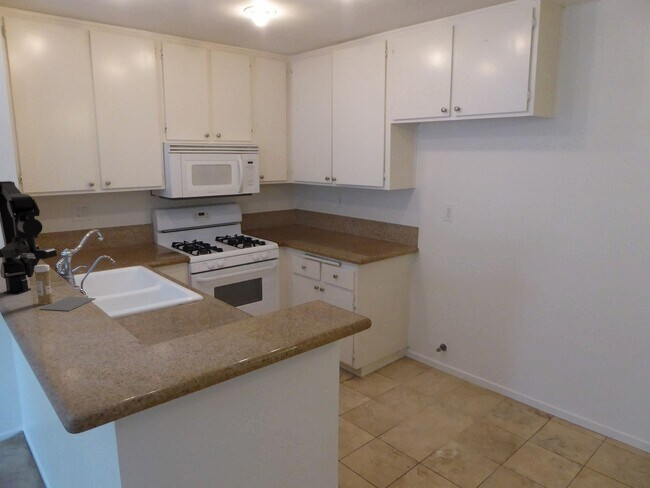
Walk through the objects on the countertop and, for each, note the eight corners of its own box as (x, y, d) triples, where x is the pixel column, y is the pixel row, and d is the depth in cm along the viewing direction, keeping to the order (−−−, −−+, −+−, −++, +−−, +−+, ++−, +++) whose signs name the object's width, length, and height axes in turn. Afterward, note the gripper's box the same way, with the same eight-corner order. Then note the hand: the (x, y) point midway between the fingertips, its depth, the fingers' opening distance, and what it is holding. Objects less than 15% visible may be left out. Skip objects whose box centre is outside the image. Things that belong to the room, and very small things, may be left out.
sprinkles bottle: (54, 303, 163) (50, 265, 161) (39, 305, 160) (35, 267, 157) (51, 300, 166) (47, 263, 164) (36, 302, 163) (32, 265, 161)
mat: (39, 309, 156) (39, 308, 156) (68, 297, 169) (68, 296, 169) (69, 311, 154) (69, 310, 154) (95, 299, 168) (95, 298, 168)
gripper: (-20, 235, 153) (-14, 281, 156) (30, 237, 150) (35, 284, 153) (8, 231, 164) (13, 274, 167) (55, 232, 161) (60, 276, 164)
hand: (29, 277), depth 162 cm, fingers closed
